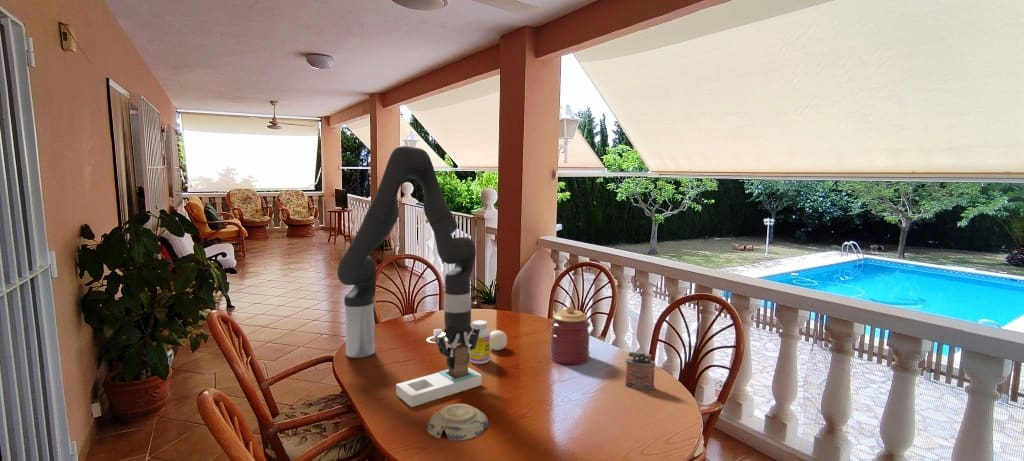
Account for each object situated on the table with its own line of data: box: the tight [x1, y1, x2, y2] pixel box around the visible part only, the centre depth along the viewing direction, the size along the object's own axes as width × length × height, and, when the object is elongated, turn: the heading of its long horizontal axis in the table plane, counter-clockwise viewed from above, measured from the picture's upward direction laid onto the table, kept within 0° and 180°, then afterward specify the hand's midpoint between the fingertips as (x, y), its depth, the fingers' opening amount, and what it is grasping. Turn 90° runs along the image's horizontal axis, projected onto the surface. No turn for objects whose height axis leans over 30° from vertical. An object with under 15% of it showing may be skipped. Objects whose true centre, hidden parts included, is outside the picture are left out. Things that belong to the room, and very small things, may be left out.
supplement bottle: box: [468, 319, 491, 365], centre depth 154 cm, size 7×7×13 cm
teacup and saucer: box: [426, 328, 448, 344], centre depth 175 cm, size 9×8×4 cm
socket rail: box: [395, 367, 483, 408], centre depth 133 cm, size 9×22×3 cm, turn 128°
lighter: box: [624, 351, 656, 391], centre depth 135 cm, size 8×3×10 cm, turn 71°
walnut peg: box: [448, 343, 469, 379], centre depth 136 cm, size 4×4×10 cm
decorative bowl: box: [426, 403, 490, 441], centre depth 115 cm, size 15×4×15 cm
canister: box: [549, 305, 591, 365], centre depth 157 cm, size 13×13×18 cm
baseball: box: [490, 329, 508, 351], centre depth 165 cm, size 7×7×7 cm
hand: (458, 366), depth 136 cm, fingers closed on walnut peg, 4 cm apart
